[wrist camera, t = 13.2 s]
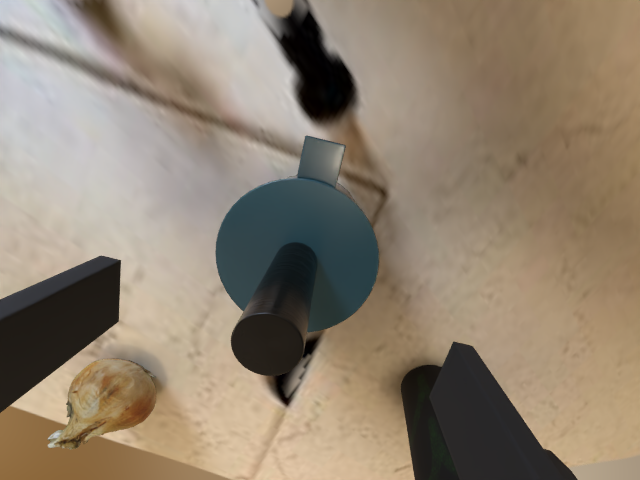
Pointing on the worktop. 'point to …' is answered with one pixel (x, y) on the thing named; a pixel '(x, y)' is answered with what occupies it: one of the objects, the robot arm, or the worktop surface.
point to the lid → (293, 268)
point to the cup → (425, 427)
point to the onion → (106, 401)
